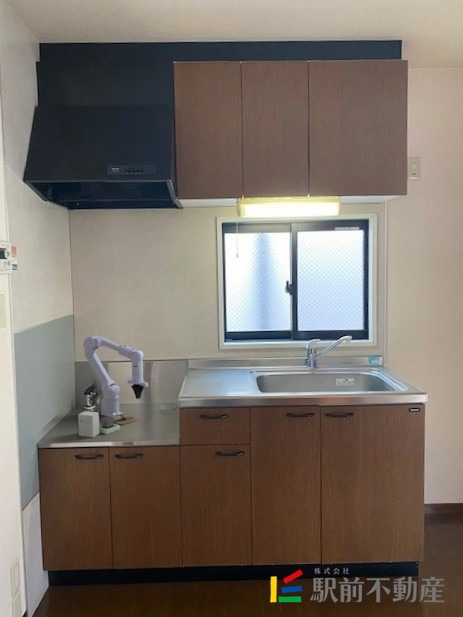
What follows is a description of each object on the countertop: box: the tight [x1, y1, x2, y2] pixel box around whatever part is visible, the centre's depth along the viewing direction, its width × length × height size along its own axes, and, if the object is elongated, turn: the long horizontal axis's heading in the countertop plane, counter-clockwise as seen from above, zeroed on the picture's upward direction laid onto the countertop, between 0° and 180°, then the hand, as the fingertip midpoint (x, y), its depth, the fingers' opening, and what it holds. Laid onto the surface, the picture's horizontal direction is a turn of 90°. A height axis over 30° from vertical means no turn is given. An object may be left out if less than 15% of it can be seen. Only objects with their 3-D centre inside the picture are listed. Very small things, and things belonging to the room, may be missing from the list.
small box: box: [77, 410, 101, 438], centre depth 243 cm, size 8×6×10 cm
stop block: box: [100, 416, 115, 429], centre depth 249 cm, size 4×4×6 cm
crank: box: [112, 413, 128, 420], centre depth 262 cm, size 9×4×4 cm, turn 132°
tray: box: [99, 423, 121, 435], centre depth 249 cm, size 8×8×2 cm
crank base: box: [114, 415, 140, 426], centre depth 264 cm, size 11×11×1 cm
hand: (138, 398), depth 271 cm, fingers closed
